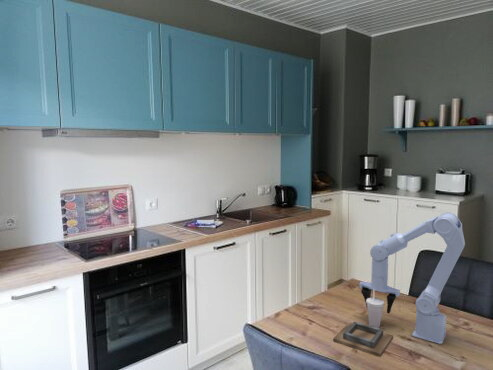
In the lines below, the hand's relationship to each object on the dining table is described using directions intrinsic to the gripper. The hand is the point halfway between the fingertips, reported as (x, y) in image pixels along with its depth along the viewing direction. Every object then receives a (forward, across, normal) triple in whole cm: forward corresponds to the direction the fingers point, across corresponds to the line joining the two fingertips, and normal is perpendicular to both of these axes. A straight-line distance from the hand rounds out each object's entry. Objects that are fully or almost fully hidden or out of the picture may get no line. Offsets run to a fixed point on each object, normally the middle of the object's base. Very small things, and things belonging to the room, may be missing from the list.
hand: (378, 309), depth 141 cm
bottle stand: (+5, 0, +16) cm, 17 cm away
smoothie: (+5, 0, +4) cm, 6 cm away
